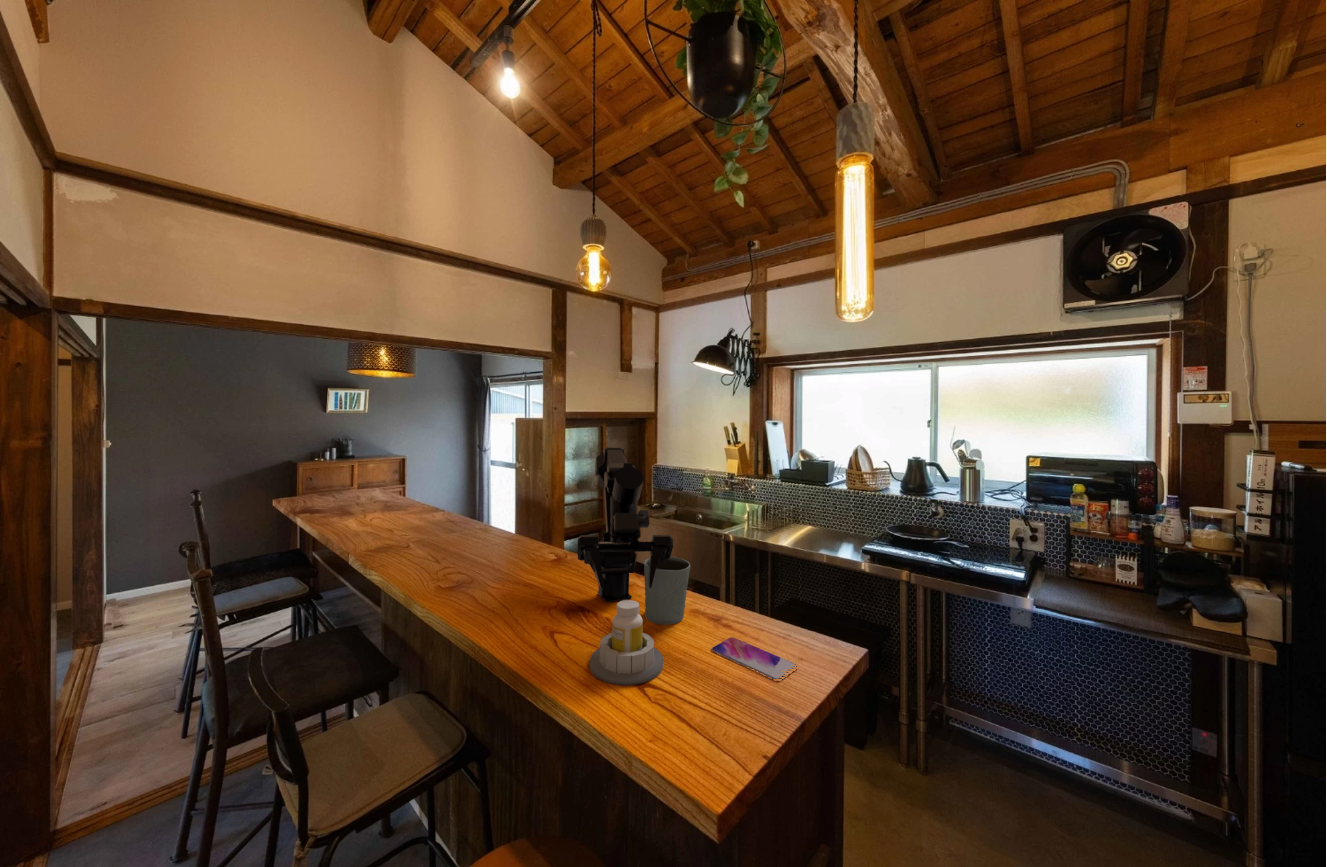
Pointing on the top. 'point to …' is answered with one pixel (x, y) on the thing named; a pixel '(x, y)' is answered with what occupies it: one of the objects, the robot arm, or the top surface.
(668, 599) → the grey green cup
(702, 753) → the top surface
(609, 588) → the robot arm
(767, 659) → the smartphone
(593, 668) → the socket collar
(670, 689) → the top surface
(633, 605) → the supplement bottle
